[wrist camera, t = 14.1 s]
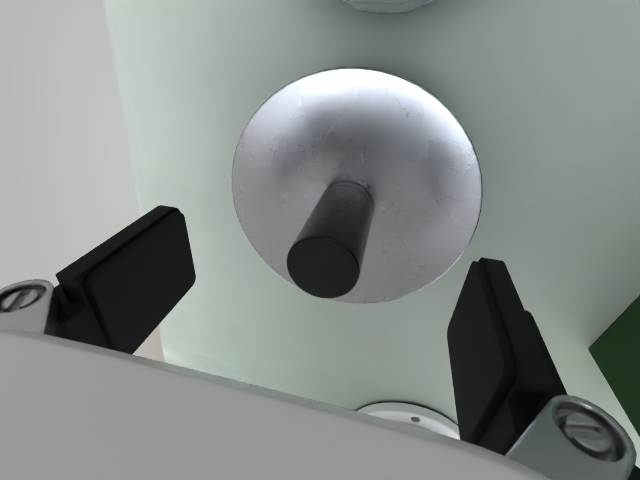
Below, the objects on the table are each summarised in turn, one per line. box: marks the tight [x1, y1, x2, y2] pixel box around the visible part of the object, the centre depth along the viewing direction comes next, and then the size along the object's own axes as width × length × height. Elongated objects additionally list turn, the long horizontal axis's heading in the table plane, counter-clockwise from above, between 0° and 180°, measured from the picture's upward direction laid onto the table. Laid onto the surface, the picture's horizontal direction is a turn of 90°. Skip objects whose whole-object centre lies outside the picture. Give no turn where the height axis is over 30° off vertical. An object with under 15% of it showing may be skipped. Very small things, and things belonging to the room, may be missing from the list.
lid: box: [232, 67, 483, 303], centre depth 14 cm, size 12×12×6 cm
